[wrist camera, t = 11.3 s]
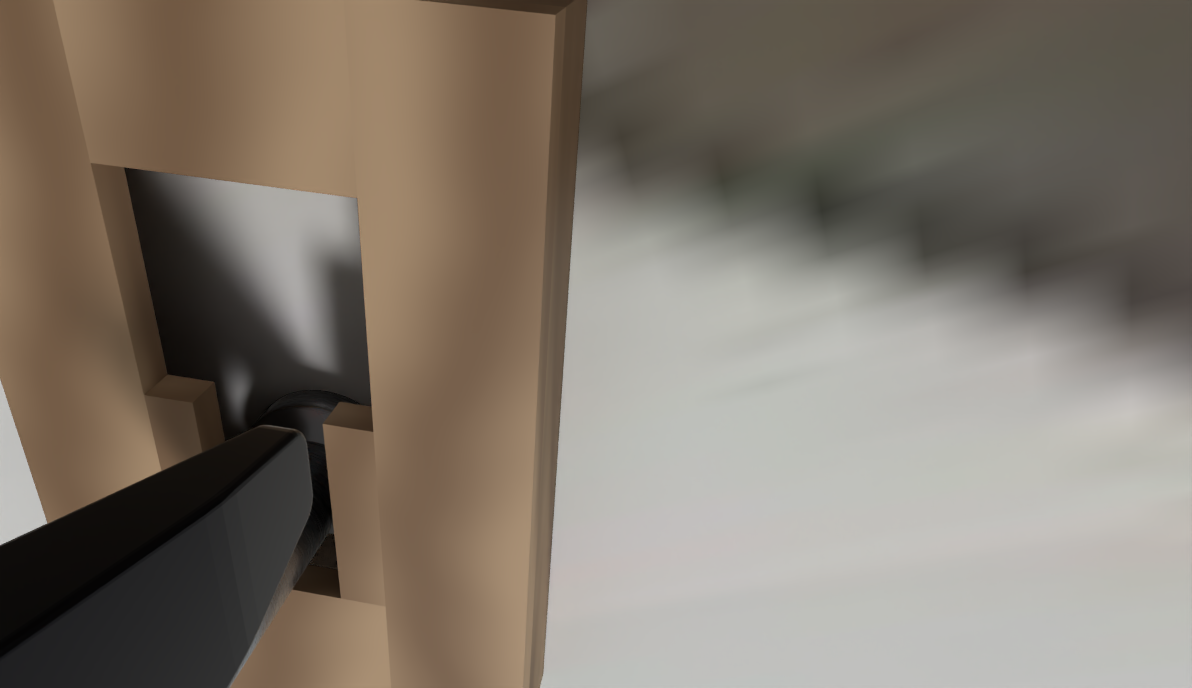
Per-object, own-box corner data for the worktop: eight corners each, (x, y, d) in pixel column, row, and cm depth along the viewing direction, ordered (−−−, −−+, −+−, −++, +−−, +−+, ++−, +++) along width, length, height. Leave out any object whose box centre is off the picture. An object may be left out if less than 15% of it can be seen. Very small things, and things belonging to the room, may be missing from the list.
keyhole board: (588, -10, 18) (555, 14, 15) (543, 673, 29) (519, 766, 26) (-6, -72, 20) (-144, -61, 17) (164, 603, 31) (100, 683, 28)
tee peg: (400, 403, 25) (210, 693, 16) (406, 523, 27) (242, 833, 18) (250, 379, 25) (-13, 648, 16) (269, 499, 27) (46, 791, 19)
